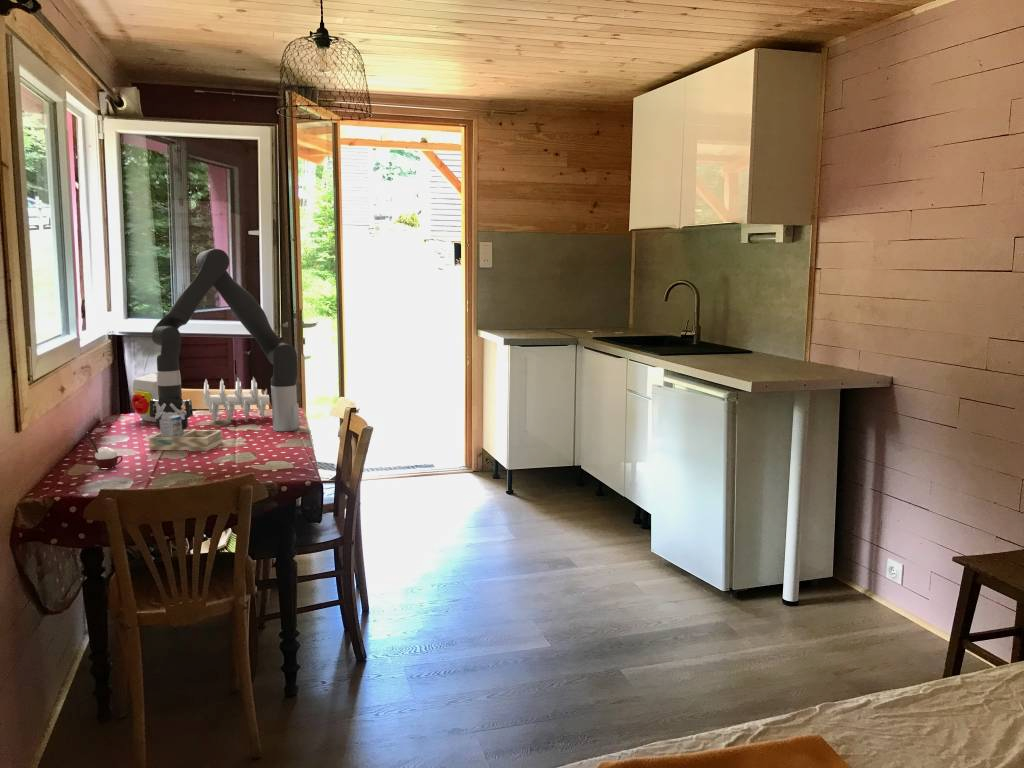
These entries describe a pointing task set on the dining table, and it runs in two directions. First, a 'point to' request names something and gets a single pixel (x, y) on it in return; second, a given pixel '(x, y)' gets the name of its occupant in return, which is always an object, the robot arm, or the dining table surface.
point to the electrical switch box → (146, 396)
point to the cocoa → (105, 456)
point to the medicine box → (171, 426)
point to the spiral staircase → (234, 400)
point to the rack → (187, 441)
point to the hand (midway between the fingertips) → (172, 429)
